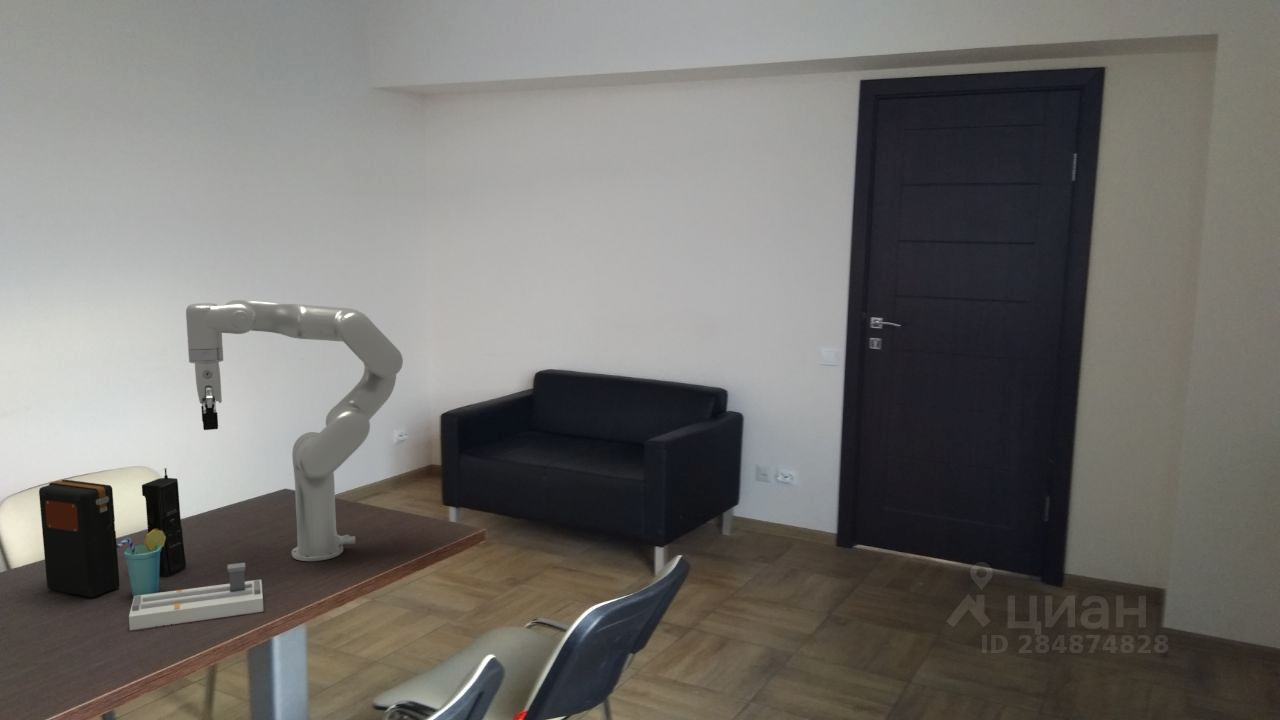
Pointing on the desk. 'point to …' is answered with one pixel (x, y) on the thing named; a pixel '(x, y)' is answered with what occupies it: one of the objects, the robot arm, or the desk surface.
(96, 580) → the black speaker
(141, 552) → the cup
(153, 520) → the portable radio
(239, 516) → the desk surface
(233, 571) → the fader tab
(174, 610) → the slider track base
